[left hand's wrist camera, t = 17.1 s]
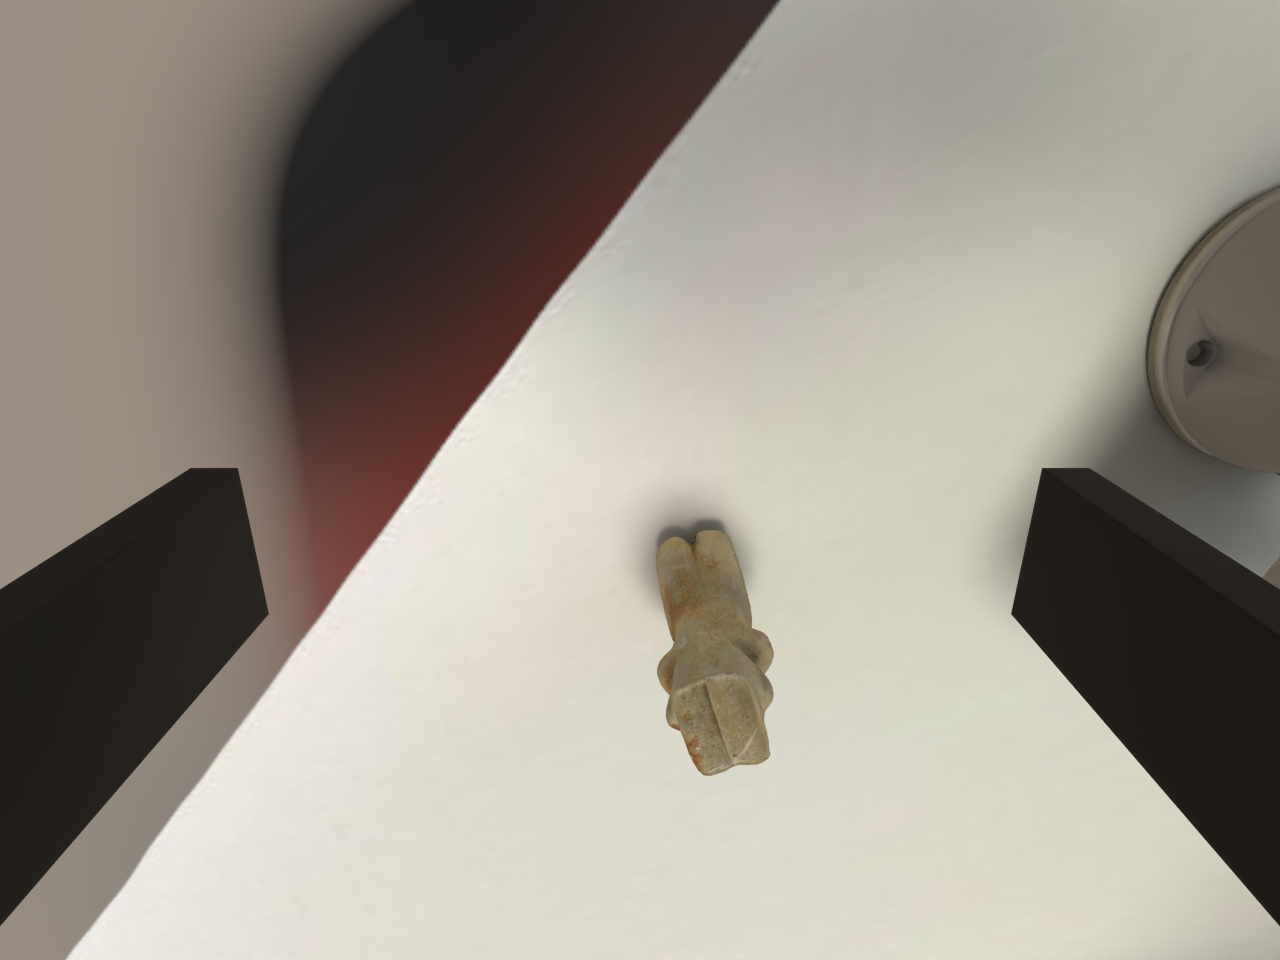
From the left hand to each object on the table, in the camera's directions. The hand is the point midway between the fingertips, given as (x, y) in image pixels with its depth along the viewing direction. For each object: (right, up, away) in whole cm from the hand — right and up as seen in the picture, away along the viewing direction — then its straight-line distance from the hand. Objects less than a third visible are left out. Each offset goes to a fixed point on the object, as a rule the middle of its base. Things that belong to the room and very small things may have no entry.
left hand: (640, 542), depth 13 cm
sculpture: (+4, -5, +33) cm, 34 cm away
